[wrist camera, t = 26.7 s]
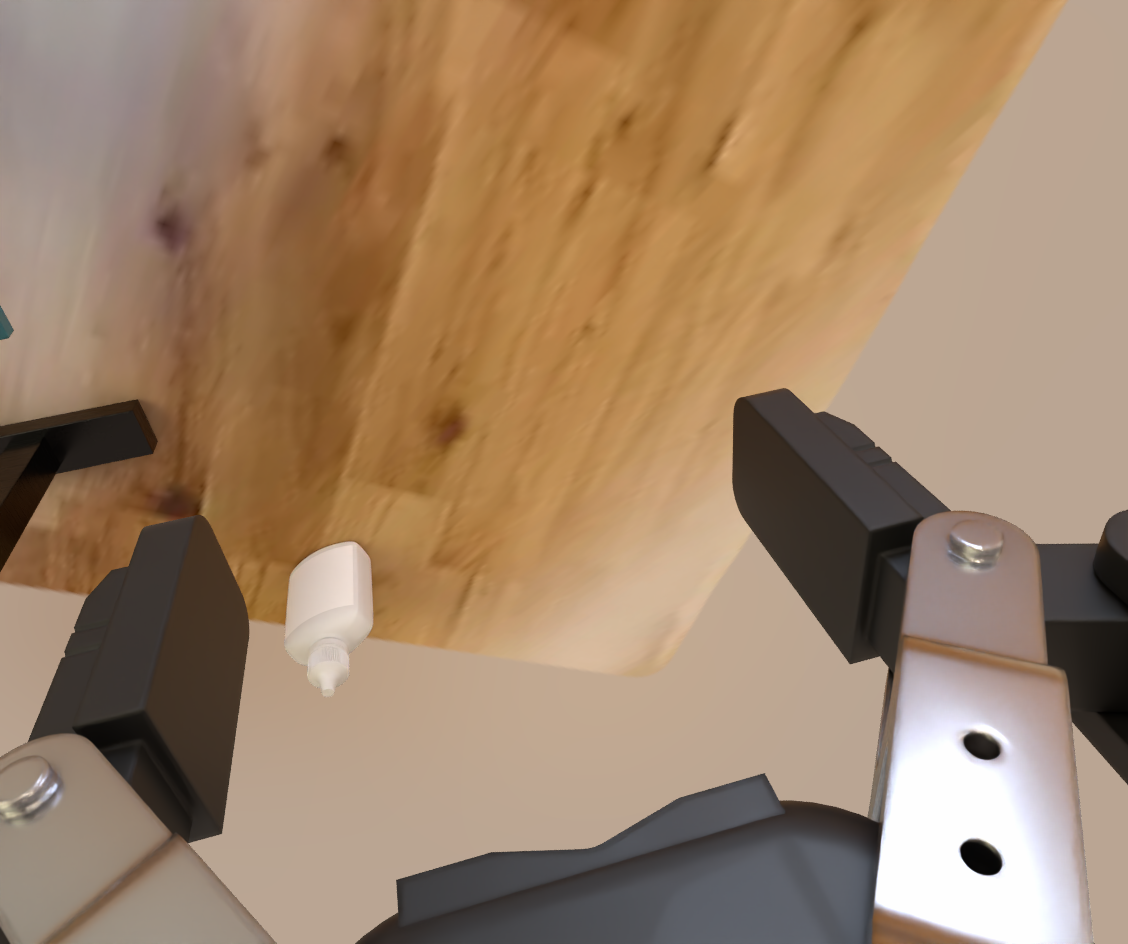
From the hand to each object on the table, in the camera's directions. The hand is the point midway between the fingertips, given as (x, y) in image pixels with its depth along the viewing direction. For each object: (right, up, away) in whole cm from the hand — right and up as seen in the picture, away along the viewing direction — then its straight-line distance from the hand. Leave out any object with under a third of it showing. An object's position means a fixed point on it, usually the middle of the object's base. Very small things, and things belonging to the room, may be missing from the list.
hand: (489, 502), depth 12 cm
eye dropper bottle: (-16, -6, +44) cm, 47 cm away
